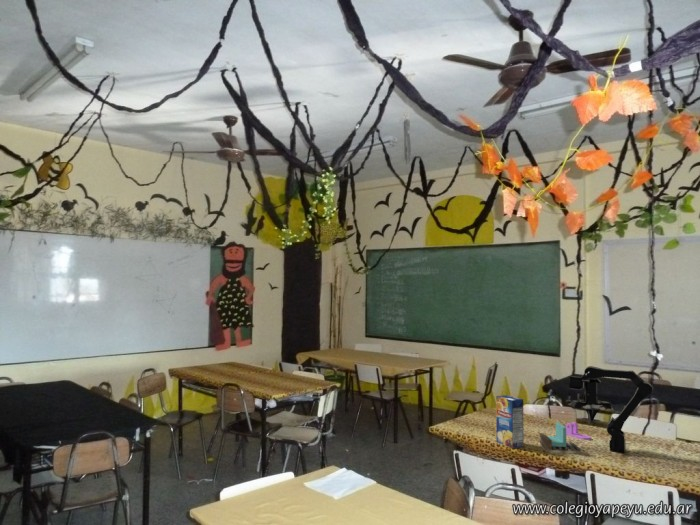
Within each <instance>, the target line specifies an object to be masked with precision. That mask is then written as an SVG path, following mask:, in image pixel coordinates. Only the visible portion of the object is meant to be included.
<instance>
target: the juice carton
mask: <svg viewBox="0 0 700 525" xmlns="http://www.w3.org/2000/svg"><path fill="white" fill-rule="evenodd" d="M495 398H496V401H495V402H496V413H495V414H496V420H495V421H496V425H495V426H496V443H498V444H500V445H503V446H506V447H508V448H510V449H517V448H523V447H524V445H525V444H524V441H525V439H524V431H525V430H524V399H523V398H519V397H516V396H512V395H507V394H506V395H496V396H495Z"/></svg>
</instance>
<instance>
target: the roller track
mask: <svg viewBox="0 0 700 525" xmlns="http://www.w3.org/2000/svg"><path fill="white" fill-rule="evenodd" d="M538 436H539V442H538V446H539V445H540V447H541V449H543V451H544V452H546V453H553V452H556V453H557V452H558V453H557V454H559V453H560V454H582V455H583V454H585V451H584V450H582V449H581V448H580V447H579V446H578V445H576V444H575V443H573V442H572V441H568V442H567V441H566V447H557V446H552V440H551V439H550V438H549V437H547V436H548V435H546V434H545V433H544V432H539V435H538ZM556 453H555V454H556Z"/></svg>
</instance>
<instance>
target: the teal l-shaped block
mask: <svg viewBox="0 0 700 525" xmlns="http://www.w3.org/2000/svg"><path fill="white" fill-rule="evenodd" d="M546 436H547V437H549V438H550V439H551V440H552V446H557V447H566V442H567V435H566V426H565V425H563V424H562V423H561V422H559V421H557V422H555V436H554V435H553V436H552V435H551V436H550V435H549V436H548V435H546Z"/></svg>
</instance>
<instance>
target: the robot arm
mask: <svg viewBox="0 0 700 525" xmlns="http://www.w3.org/2000/svg"><path fill="white" fill-rule="evenodd" d="M600 378H613V379H614V378H615V379H628V380H630V381H631V382H632V383H633V384H634V385H635V386H636V387H637V388H636V390H635V393H634V395H633V397H631V399H630V400H629V401H628V403H627V404H626V405H625V407H624V408H623V409H621V410H622V411H620V413H619V414H618V415H617V416H616V417H613V416H612V417H611V419H610V420H609V421H607V424H606V425H607V428H606V431H607V433H608V434H609V435H610V436H611V437H610V439H609V451H610V452H615V453H620V454H625V453H626V452H627V449H626V447H627V446H626V443H627V442H626V440H627V439H626V438H625V432H624V431H623V430H622V429H623V427H624V425H625V423H626V422H627V419H629V417H630V416H631V415H632V413H633V412H634V411H635V410H636V409H637V407H638V405H639V404H640V403H641V402H642V401H643V400H645V399H646V398H648V397H649V396H650V395H651V394H652V393H653V387H652V384H651V383H650V382H648V381H645V380H644V379H642V378H641V376H639V375H638V374H637V373H636V372H635V371H634V370H621V369H606V368H600V367H597V366H593V365H590V366H587V367H586V368H585V369H584V373H583V374H582V375H581V376H573V375H570V376H569V383H568V385H569V390H576V391H577V390H578V391H581V390H582V389H584V392H583V393H576V394H577V396H576V398H577V400H571V401H570V406H571V407H573V408H575V409H581V408H582V409H583V410H585V411H586V412H585V413H586V414H587V416H588V419H589V422H591V423H592V422H593V421H594V420H595V418H596V415H597V414H598V412H599V411H601V407H602V408H603V407H604V409H605V410H612V409H613V405H612V403H611V402H608V401H602V400H600V401H598V397H599V394H598V384H601V383H602V381H601V380H600ZM588 379H589V380H588Z"/></svg>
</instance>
